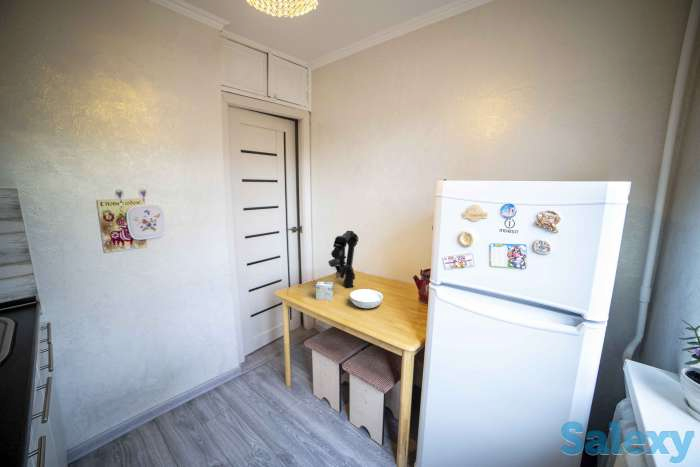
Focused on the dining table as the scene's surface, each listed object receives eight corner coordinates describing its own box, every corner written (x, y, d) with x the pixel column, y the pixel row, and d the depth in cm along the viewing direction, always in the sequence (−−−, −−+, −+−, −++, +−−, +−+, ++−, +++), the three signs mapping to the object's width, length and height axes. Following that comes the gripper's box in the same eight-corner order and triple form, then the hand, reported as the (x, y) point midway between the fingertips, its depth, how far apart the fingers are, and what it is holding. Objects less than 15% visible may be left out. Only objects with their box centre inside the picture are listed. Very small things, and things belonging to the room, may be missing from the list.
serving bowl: (379, 314, 163) (379, 303, 162) (345, 309, 169) (345, 298, 168) (385, 300, 183) (385, 291, 182) (354, 296, 189) (355, 287, 188)
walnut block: (342, 276, 193) (342, 271, 192) (345, 278, 188) (345, 273, 188) (335, 277, 190) (335, 272, 190) (338, 279, 186) (338, 274, 185)
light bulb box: (333, 296, 188) (333, 281, 186) (331, 300, 181) (331, 285, 180) (317, 295, 189) (317, 281, 187) (315, 299, 182) (315, 284, 181)
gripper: (324, 252, 191) (324, 274, 193) (336, 259, 175) (335, 282, 177) (338, 251, 196) (338, 272, 199) (351, 257, 180) (350, 280, 183)
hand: (340, 276), depth 189 cm, fingers closed on walnut block, 5 cm apart
